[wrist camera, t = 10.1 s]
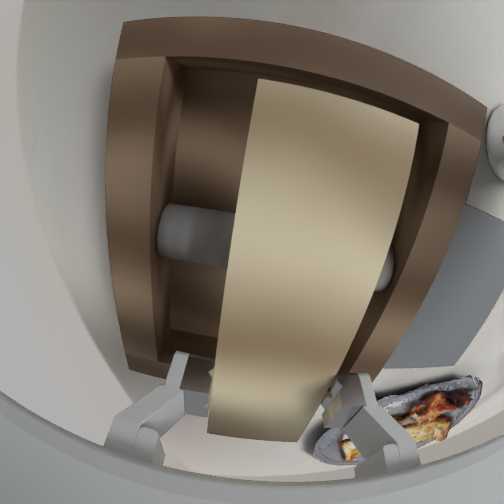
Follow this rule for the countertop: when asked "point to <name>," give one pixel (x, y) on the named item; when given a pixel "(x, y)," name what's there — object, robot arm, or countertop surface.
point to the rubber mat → (456, 295)
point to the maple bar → (303, 253)
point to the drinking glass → (496, 141)
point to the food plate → (411, 418)
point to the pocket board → (230, 170)
